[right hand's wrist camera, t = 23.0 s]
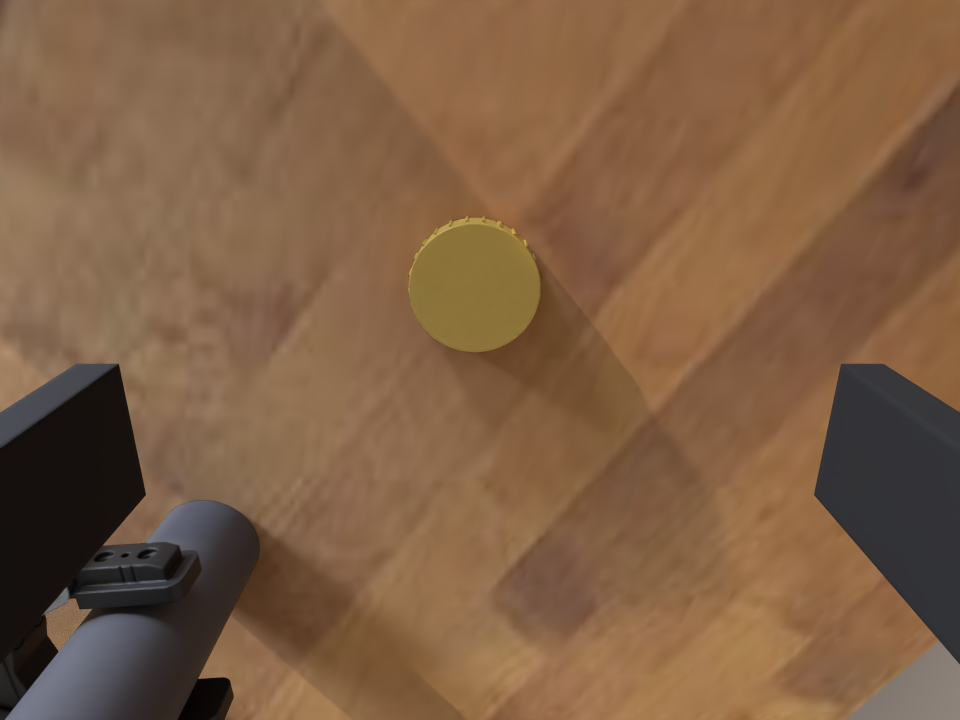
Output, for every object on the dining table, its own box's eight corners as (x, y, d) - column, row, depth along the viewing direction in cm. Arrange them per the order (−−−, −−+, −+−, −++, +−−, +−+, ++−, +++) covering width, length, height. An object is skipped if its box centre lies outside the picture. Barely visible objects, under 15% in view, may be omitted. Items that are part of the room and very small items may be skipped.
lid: (557, 239, 27) (562, 247, 26) (514, 357, 29) (516, 370, 27) (432, 197, 27) (430, 202, 25) (395, 319, 28) (391, 331, 27)
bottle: (168, 585, 33) (-162, 1079, 16) (150, 501, 31) (-239, 949, 14) (265, 583, 33) (39, 1075, 16) (252, 498, 31) (-15, 945, 14)
